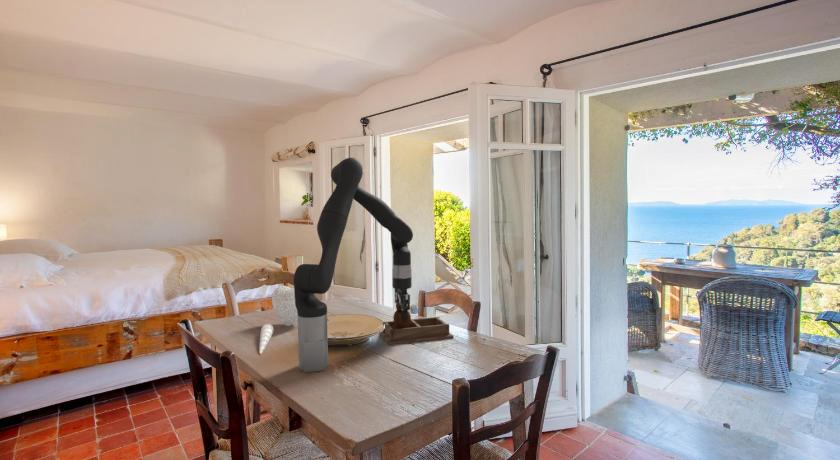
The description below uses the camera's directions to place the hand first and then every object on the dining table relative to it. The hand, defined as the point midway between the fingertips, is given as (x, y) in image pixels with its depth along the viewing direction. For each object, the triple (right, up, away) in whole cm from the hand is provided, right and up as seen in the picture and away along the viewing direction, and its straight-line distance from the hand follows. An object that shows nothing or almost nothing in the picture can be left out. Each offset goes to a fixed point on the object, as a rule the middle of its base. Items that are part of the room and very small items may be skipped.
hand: (402, 317), depth 162 cm
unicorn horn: (-52, -9, -6) cm, 53 cm away
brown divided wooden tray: (+5, -8, +2) cm, 10 cm away
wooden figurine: (0, -5, 0) cm, 5 cm away
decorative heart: (-50, -7, +17) cm, 53 cm away
